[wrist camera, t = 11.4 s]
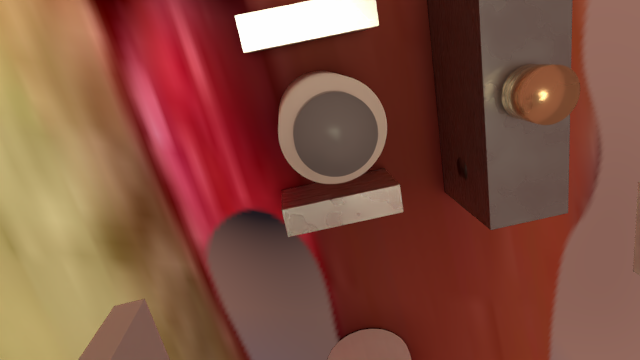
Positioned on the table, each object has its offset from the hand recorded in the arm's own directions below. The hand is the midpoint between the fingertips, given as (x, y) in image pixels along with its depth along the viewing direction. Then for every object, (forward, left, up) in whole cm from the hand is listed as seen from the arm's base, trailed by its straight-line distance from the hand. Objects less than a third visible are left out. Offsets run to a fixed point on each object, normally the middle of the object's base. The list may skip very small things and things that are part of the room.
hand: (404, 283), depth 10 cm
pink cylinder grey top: (0, +2, -19) cm, 19 cm away
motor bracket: (+5, +2, -19) cm, 20 cm away
